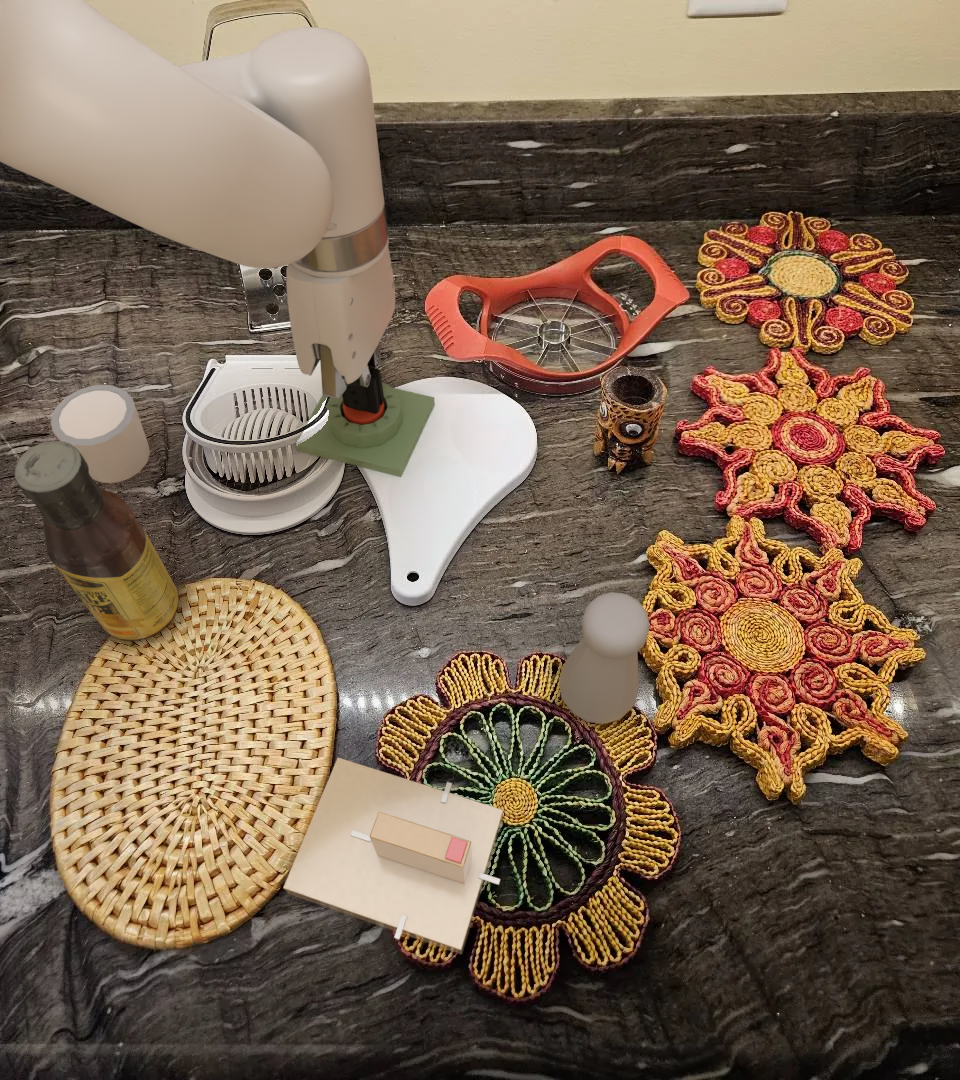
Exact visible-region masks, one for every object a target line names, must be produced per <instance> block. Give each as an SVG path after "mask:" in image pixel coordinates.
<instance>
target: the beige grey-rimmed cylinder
mask: <svg viewBox="0 0 960 1080" xmlns="http://www.w3.org/2000/svg"><path fill="white" fill-rule="evenodd" d="M50 425H51V431H52V433H53V434H54V436H55V437H56V438H57V439H58V441H63V442H67V443H69V444H71V445H72V446H74V447H75V448H77V449H78V450H79V452H80V453H81V455H82V456H83V458H84V459H85V461H86V463H87V465H88V468H89V474H90V476H91V477H92V479H93V481H96V482H99V483H102V484H103V483H104V484H116V483H120V482H122V481H126V480H129V479H131V478H132V477H134V476H136V475H137V474H139V473H140V472H141V471H142V470H143V469H144V467H145V466H146V465H147V463H148V462H149V459H150V454H151V449H150V445H149V442H148V439H147V436H146V433H145V429H144V428H143V424H142V422H141V418H140V416H139V413H138V410H137V408H136V404H135V401H134V399H133V397H132V396H131V395H130V394H129V393H128V392H127V391H126V390H125V389H123V388H121V387H117V386H114V385H112V384H110V385H109V384H94V385H90V386H87V387H83V388H79V389H78V390H76V391H74V392H72V393H71V394H69V395H66V397H64V398H63V400H61V402H60V403H59V404H58V405H56V407H55V408H54V410H53V413H52V416H51V418H50Z"/></svg>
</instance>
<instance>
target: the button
mask: <svg viewBox="0 0 960 1080" xmlns="http://www.w3.org/2000/svg"><path fill="white" fill-rule="evenodd" d="M343 410H344V415H345V419H346V420H347V421H348V422H351V423H355V424H359V425H364V424H370V423H374V422H376V421H377V420H379V419H380V418H382V417H383V416H384V414H385V409H384V402H383V403H382V405H380V409H379V411H378V413H377V414H374V413H370V412H366V411H359V410H355V409H352V408H349V407H346V406H345V405H344V404H343Z"/></svg>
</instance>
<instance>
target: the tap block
mask: <svg viewBox="0 0 960 1080" xmlns="http://www.w3.org/2000/svg"><path fill="white" fill-rule="evenodd" d="M452 786H453V783H452V782H449V781H447V782H446V784H445V788H444V790H442V789H439V788H436V787H433V786H429V785H426V784H424V783H420V782H417V781H414V780H411V779H407V778H404V777H402V776H398V775H395V774H392V773H388V772H385V771H382V770H379V769H376V768H373V767H369V766H367V765H363V764H360V763H357V762H354V761H351V760H348V759H344V758H341V757H337V758H336V761H335V762H334V765H333V768H332V770H331V772H330V775H329V777H328V780H327V782H326V784H325V787H324V789H323V791H322V794H321V795H320V799H319V801H318V803H317V806H316V808H315V810H314V813H313V815H312V817H311V820H310V822H309V824H308V827H307V829H306V832H305V834H304V837H303V839H302V842H301V844H300V846H299V849H298V851H297V853H296V856H295V858H294V860H293V863H292V865H291V867H290V869H289V872H288V875H287V877H286V879H285V881H284V884H283V890H284V891H285V892H286V893H287V894H288V895H290V896H293V897H296V898H299V899H301V900H305V901H307V902H309V903H310V902H311V903H313V904H316V905H319V906H322V907H325V908H327V909H330V910H334V911H336V912H339V913H342V914H345V915H347V916H350V917H353V918H356V919H359V920H362V921H364V922H367V923H370V924H372V925H376V926H379V927H382V928H384V929H387V930H391V931H393V932H395V934H394V936H393V939H395V940H398V941H400V940H401V937H402V935H404V936H407V937H409V938H414V939H416V940H419V941H421V942H425V943H428V944H430V945H433V946H435V947H439V948H442V949H445V950H447V951H451V952H453V953H456V954H459V955H462V954H463V953H464V949H465V947H466V943H467V940H468V936H469V933H470V929H471V925H472V923H473V919H474V915H475V911H476V909H477V905H478V902H479V899H480V895H481V892H482V889H483V885H484V882H488V883H491V884H494V885H496V886H497V885H498V886H500V884H501V878H498V877H496V876H492V875H490V874H487V872H488V869H489V865H490V862H491V859H492V856H493V852H494V849H495V845H496V842H497V838H498V836H499V833H500V828H501V826H502V822H503V818H504V809H502V808H499V807H495V806H492V805H490V804H486V803H484V802H480V801H477V800H474V799H471V798H467V797H464V796H461V795H459V794H454V793H452V792H451V790H452ZM379 812H382V813H385V814H388V815H391V816H394V817H397V818H400V819H403V820H406V821H410V822H413V823H416V824H419V825H422V826H425V827H428V828H431V829H434V830H437V831H440V832H444V833H447V834H450V835H453V836H456V837H459V838H462V839H465V840H468V841H471V847H472V862H471V865H470V868H469V872H468V875H467V878H466V881H465V884H463V883H460V882H457V881H454V880H451V879H448V878H445V877H442V876H439V875H436V874H433V873H430V872H427V871H424V870H421V869H418V868H415V867H412V866H409V865H406V864H403V863H400V862H397V861H394V860H391V859H388V858H385V857H382V856H379V855H377V853H376V851H375V848H374V846H373V844H372V841H371V839H370V834H371V831H372V829H373V826H374V823H375V821H376V818H377V815H378V813H379Z"/></svg>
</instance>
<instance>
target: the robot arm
mask: <svg viewBox="0 0 960 1080" xmlns="http://www.w3.org/2000/svg"><path fill="white" fill-rule="evenodd" d="M370 74H371V73H370V67H369V64H368V61H367V58H366V56H365V54H364V52H363V51H362V49H361V48H360V46H359V45H358V44H357V43H356V42H355V41H354V40H353V39H351V38H350V37H348V36H347V35H344V34H343V33H341V32H339V31H336V30H333V29H329V28H325V27H319V26H318V27H316V26H302V27H295V28H289V29H285V30H281V31H279V32H276V33H274V34H271V35H269V36H267V37H266V38H264V39H263V40H261V41H260V42H259V43H258V44H257V45H256V46H254V48H252V49H251V50H248V51H243V52H239V53H236V54H231V55H227V56H222V57H217V58H211V59H206V60H200V61H196V62H195V61H194V62H190V63H189V62H188V63H184V64H179V65H177V64H175V63H174V62H172V61H170V60H169V59H168V58H165V57H164V56H163V55H161V54H159V53H158V52H157V51H155V50H154V49H152V48H151V47H149V46H148V45H146V44H144V42H142V41H141V40H139V39H138V38H136V37H134V36H133V35H131V34H130V33H129V32H127V31H126V30H124V29H123V28H122V27H121V26H119V25H118V24H116V23H115V22H114V21H112V20H110V19H109V18H108V17H106V16H105V15H104V14H102V13H101V12H100V11H99V10H98V9H96V8H95V7H93V6H92V5H91V4H90V3H88V2H87V1H86V0H0V163H1V164H4V165H5V166H8V167H11V168H12V169H14V170H17V171H19V172H22V173H24V174H26V175H29V176H31V177H33V178H36V179H38V180H40V181H42V182H45V183H47V184H49V185H52V186H54V187H56V188H58V189H60V190H62V191H65V192H67V193H69V194H70V195H73V196H75V197H77V198H79V199H82V200H84V201H86V202H88V203H89V204H91V205H94V206H96V207H98V208H100V209H102V210H103V211H107V212H108V213H111V214H113V215H115V216H117V217H119V218H121V219H123V220H125V221H128V222H130V223H132V224H134V225H136V226H139V227H141V228H143V229H145V230H148V231H149V232H151V233H154V234H157V235H159V236H161V237H164V238H166V239H168V240H171V241H173V242H176V243H178V244H180V245H184V246H186V247H189V248H192V249H194V250H197V251H200V252H203V253H206V254H209V255H212V256H214V257H217V258H220V259H222V260H226V261H229V262H232V263H234V264H237V265H240V266H243V267H248V268H254V269H274V268H282V267H286V266H287V267H286V269H285V270H286V281H285V282H286V300H287V309H288V316H289V323H290V330H291V337H292V341H293V347H294V352H295V357H296V360H297V364H298V368H299V370H300V372H301V373H302V374H304V375H307V376H312V375H313V373H314V371H315V369H316V368H317V366H318V364H319V362H320V377H321V390H322V395H323V396H326V397H330V398H334V399H339V398H340V397H341V396H342V397H343V402H344V405H345V406H346V407H349V408H352V409H355V410H359V411H366V412H370V413H374V414H377V413H378V411H379V409H380V405H382V403H383V401H384V394H383V387H382V383H383V380H382V374H381V373H382V372H381V369H379V367H380V364H381V362H382V352H381V339H382V338H383V336H384V334H385V332H386V330H387V328H388V326H389V324H390V322H391V320H392V319H393V316H394V312H395V310H396V288H395V278H394V271H393V266H392V259H391V255H390V248H389V244H390V238H389V230H388V229H389V228H388V220H387V213H386V212H387V211H386V203H385V197H384V189H383V178H382V170H381V160H380V159H381V158H380V152H379V151H380V150H379V142H378V141H379V140H378V133H377V125H376V116H375V115H376V114H375V107H374V97H373V89H372V79H371V75H370Z"/></svg>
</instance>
